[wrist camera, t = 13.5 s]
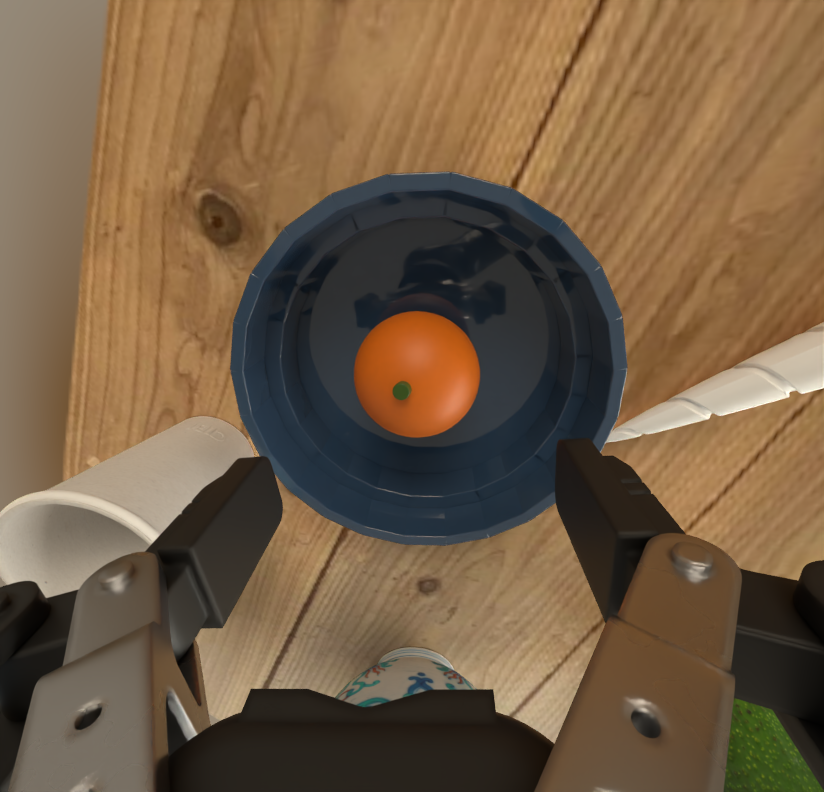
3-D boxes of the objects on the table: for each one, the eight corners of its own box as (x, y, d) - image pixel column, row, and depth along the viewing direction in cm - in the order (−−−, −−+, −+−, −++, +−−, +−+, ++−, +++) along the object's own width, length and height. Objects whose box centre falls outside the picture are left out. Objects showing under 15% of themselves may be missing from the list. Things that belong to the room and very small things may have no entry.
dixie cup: (161, 374, 24) (-15, 463, 15) (290, 428, 25) (202, 544, 15) (140, 478, 27) (-16, 605, 18) (256, 523, 28) (165, 666, 18)
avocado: (756, 632, 29) (955, 881, 18) (679, 688, 32) (809, 933, 21) (671, 589, 28) (826, 825, 17) (599, 652, 31) (691, 888, 20)
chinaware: (469, 590, 29) (480, 706, 22) (527, 710, 34) (552, 837, 27) (295, 633, 32) (254, 748, 25) (372, 738, 37) (357, 859, 30)
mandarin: (388, 295, 21) (345, 296, 15) (496, 325, 20) (497, 339, 14) (364, 398, 23) (317, 436, 17) (463, 429, 22) (452, 481, 16)
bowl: (297, 148, 19) (245, 115, 14) (637, 239, 19) (708, 240, 14) (265, 448, 25) (221, 502, 20) (519, 509, 26) (539, 576, 21)
